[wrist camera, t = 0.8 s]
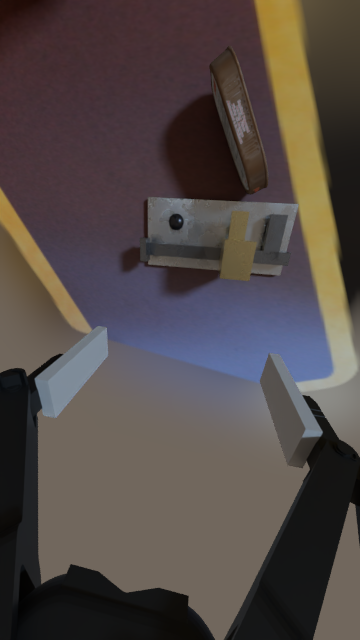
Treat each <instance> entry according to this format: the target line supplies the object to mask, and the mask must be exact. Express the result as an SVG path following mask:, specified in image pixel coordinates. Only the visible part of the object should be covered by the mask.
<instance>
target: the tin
mask: <svg viewBox="0 0 360 640" xmlns="http://www.w3.org/2000/svg"><path fill="white" fill-rule="evenodd" d="M210 73H211V87H212V92H213V96H214V100H215V104H216V108H217V111H218V114H219V118H220V121H221V124H222V127H223V130H224V133H225V136H226V140H227V143H228V146H229V149H230V152H231V155H232V158H233V161H234V164H235V167H236V169H237V172H238V175H239V178H240V180H241V183H242V185H243V187H244V189H245V191H246V192H247V193H248V194H253V193H255V192H257V191H259V190H261V189H262V188H266V187H267V186H268V169H267V162H266V157H265V153H264V149H263V145H262V142H261V138H260V134H259V131H258V127H257V124H256V121H255V117H254V114H253V110H252V107H251V103H250V100H249V96H248V92H247V89H246V85H245V82H244V78H243V75H242V71H241V68H240V65H239V62H238V59H237V57H236V54H235V52H234V50H233V49H232V47H231V46H228V47H227V49H226V50H225V51H224V52H223V53H222V54H221V55H220V56H218V57H217V58H216V59H215V60H214V61H213V62H212V63H211V64H210Z"/></svg>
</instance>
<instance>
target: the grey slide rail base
mask: <svg viewBox="0 0 360 640" xmlns="http://www.w3.org/2000/svg"><path fill="white" fill-rule="evenodd" d="M287 218H288V215H279V214H270V215H269V218H268V223H267V228H266V233H265V237H264V242H263V247H262V250H255V254H254V259H253V263H257V264H270V265H282V266H288V262H289V258H290V255H291V253H289V252H282V251H280V247H281V243H282V239H283V235H284V231H285V227H286V223H287ZM220 253H221V247H213V246H199V245H185V244H171V243H157V242H150V238H146V237H143V238H140V261H144V262H147V261H149V260H150V255H156V256H168V257H181V258H194V259H206V260H219V261H220Z"/></svg>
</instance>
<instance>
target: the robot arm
mask: <svg viewBox="0 0 360 640" xmlns="http://www.w3.org/2000/svg"><path fill="white" fill-rule="evenodd" d="M107 356H108V343H107V327H100V326H97V327H96V328H95V329H94V330H93V331H91V332H90V333H89V334H88V335H87V336H85V337H84V338H83V339H82V340H80V341H79V342H78V343H77V344H76V345H75V346H73V347H72V348H71V349H70V350H69V351H67V352H66V353H65V354H58V355H56V356H54V357H52V358H50V360H48V361H47V362H46V363H44V364H43V365H42V366H41V367H39V368H38V369H36V370H35V371H34V372H33V373H31V374H30V375H29V376H28V377H27V376H26V372H25V370H24V369H21V368H14V369H9V370H6V371H4V372H1V373H0V640H215V639H214V637H213V635H212V633H211V632H210V630H209V628H208V627H207V625H206V624H205V623H204V621H203V620H202V618H201V617H200V616H199V615H198V614H197V613H196V612H195V611H194V610H193V609H191V608H190V607H189V606H188V596H187V595H184V594H180V593H176V592H172V591H169V590H165V589H161V588H155V589H148V590H142V591H135V592H129V593H126V592H123V591H122V590H120V589H119V588H118V587H117V586H116V585H114V584H113V583H112V582H110V581H109V580H108V579H107V578H106V577H105V576H103V575H102V574H101V573H100V572H98V571H94V570H91V569H87V568H83V567H79V566H76V565H72V564H71V565H70V568H69V570H68V572H67V574H63V575H60V576H57V577H54V578H52V579H50V580H48V581H46V582H45V583H43V584H41V574H40V566H39V559H38V417H37V413H38V412H39V411H40V409H42V411H43V415H44V416H48V417H53V418H56V417H57V416H58V414H60V412H61V411H62V410H63V409H64V408H65V406H66V405H67V404H68V403H69V402H70V400H71V399H72V398H73V397H74V396H75V394H76V393H77V392H78V391H79V390H80V388H81V387H82V386H83V385H84V384H85V382H86V381H87V380H88V379H89V378H90V376H91V375H92V374H93V373H94V372H95V371H96V369H97V368H98V367H99V366H100V364H101V363H102V362H103V361H104V360H105V359H106V357H107ZM260 383H261V386H262V389H263V392H264V395H265V398H266V401H267V404H268V407H269V410H270V413H271V416H272V419H273V423H274V426H275V429H276V432H277V434H278V438H279V441H280V444H281V447H282V450H283V453H284V456H285V459H286V462H287V465H289V466H294V467H299V468H303V466H304V464H305V463H306V461H307V463H308V465H309V467H310V471H309V472H308V474H307V476H306V477H305V479H304V480H303V484H302V486H301V488H300V490H299V492H298V494H297V496H296V498H295V500H294V502H293V504H292V506H291V508H290V510H289V512H288V514H287V516H286V518H285V520H284V522H283V524H282V526H281V528H280V530H279V532H278V534H277V536H276V538H275V540H274V542H273V544H272V546H271V548H270V550H269V552H268V554H267V556H266V558H265V560H264V562H263V564H262V567H261V569H260V571H259V572H258V575H257V576H256V579H255V581H254V582H253V585H252V587H251V589H250V591H249V593H248V595H247V597H246V599H245V601H244V603H243V605H242V607H241V609H240V611H239V612H238V614H237V616H236V618H235V620H234V622H233V624H232V625H231V627H230V629H229V631H228V633H227V635H226V637H225V639H224V640H313V636H314V633H315V630H316V626H317V622H318V618H319V615H320V611H321V607H322V604H323V600H324V596H325V592H326V588H327V585H328V581H329V578H330V574H331V570H332V566H333V562H334V559H335V555H336V551H337V548H338V544H339V540H340V537H341V533H342V529H343V526H344V522H345V518H346V514H347V511H348V507H349V503H350V502H351V503H353V504H355V506H356V516H357V524H358V534H359V543H360V457H359V456H358V454H357V452H356V451H355V450H354V449H353V448H352V447H351V446H349V445H348V444H347V443H345V442H343V441H341V440H339V438H338V437H337V435H336V433H335V432H334V430H333V428H332V427H331V425H330V424H329V422H328V420H327V419H326V418H325V416H324V414H323V412H321V409H320V407H319V406H318V404H317V403H316V402H315V401H314V400H313V399H312V398H311V397H310V396H305V395H302V394H301V392H300V391H299V389H298V387H297V385H296V383H295V382H294V380H293V378H292V376H291V374H290V373H289V371H288V369H287V367H286V366H285V364H284V362H283V360H282V358H281V357H280V355H279V354H272V353H269V355H268V358H267V361H266V364H265V367H264V370H263V373H262V376H261V379H260Z"/></svg>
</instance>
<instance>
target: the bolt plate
mask: <svg viewBox="0 0 360 640" xmlns="http://www.w3.org/2000/svg"><path fill="white" fill-rule="evenodd" d="M298 205H299V204H281V203H260V202H240V201H219V200H199V199H178V198H158V197H148V238H150V242H157V243H171V244H185V245H199V246H213V247H221V246H222V238H226V239H228V233H229V226H230V219H231V212H232V211H247V212H249V217H248V223H247V229H246V234H245V240H250V241H254V242H257V244H256V249H255V250H262V247H263V242H264V237H265V233H266V228H267V223H268V218H269V215H270V214H279V215H288V218H287V223H286V227H285V231H284V235H283V239H282V243H281V247H280V251H282V252H286V251H287V247H288V243H289V239H290V235H291V232H292V228H293V224H294V220H295V216H296V212H297V209H298ZM148 264H149V265H161V266H173V267H185V268H197V269H209V270H218V268H219V260H206V259H194V258H181V257H168V256H156V255H150V260H149V261H148ZM281 270H282V265H270V264H257V263H253V264H252V269H251V273H256V274H268V275H280V274H281Z"/></svg>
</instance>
